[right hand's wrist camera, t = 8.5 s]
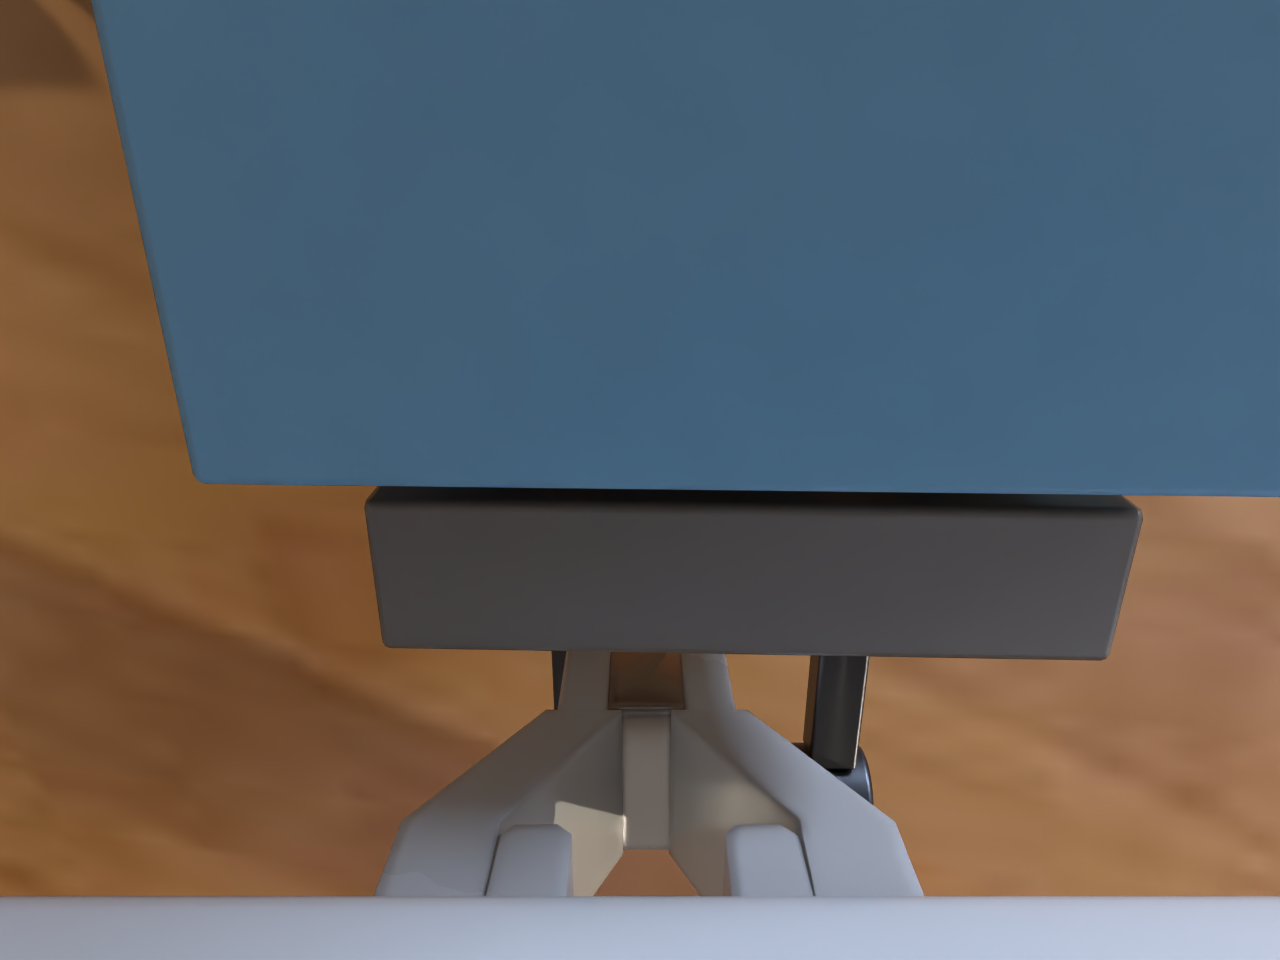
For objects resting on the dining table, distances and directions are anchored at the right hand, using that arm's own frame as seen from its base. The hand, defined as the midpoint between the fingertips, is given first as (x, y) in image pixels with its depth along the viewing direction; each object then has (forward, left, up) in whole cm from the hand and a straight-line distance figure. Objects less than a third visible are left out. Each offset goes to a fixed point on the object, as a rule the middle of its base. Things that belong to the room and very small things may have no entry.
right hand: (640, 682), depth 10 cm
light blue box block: (-8, -9, -4) cm, 13 cm away
